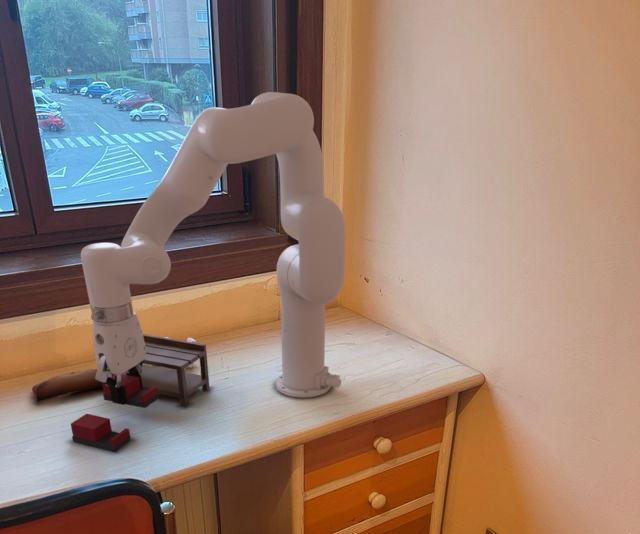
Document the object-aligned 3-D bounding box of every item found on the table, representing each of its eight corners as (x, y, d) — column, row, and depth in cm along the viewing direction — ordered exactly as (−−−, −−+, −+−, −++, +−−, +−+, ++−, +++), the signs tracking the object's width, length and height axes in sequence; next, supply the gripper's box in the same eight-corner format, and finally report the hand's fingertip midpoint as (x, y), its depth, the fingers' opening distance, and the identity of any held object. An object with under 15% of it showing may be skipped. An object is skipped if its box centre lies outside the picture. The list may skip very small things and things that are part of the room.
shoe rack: (209, 388, 145) (205, 344, 140) (185, 407, 137) (180, 361, 131) (136, 374, 151) (130, 331, 146) (109, 391, 143) (101, 346, 138)
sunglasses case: (110, 370, 151) (111, 353, 146) (120, 395, 148) (121, 378, 143) (29, 387, 143) (27, 369, 137) (38, 413, 140) (36, 396, 135)
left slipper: (131, 440, 124) (128, 422, 122) (115, 452, 120) (112, 433, 118) (89, 430, 128) (86, 412, 126) (72, 441, 124) (69, 423, 122)
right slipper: (159, 398, 130) (156, 380, 128) (145, 408, 126) (142, 390, 124) (119, 390, 133) (115, 372, 131) (104, 400, 129) (100, 382, 127)
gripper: (99, 328, 113) (116, 419, 122) (155, 299, 126) (167, 383, 135) (65, 323, 115) (84, 412, 124) (124, 295, 129) (138, 377, 138)
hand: (127, 396), depth 130 cm, fingers closed on right slipper, 4 cm apart
